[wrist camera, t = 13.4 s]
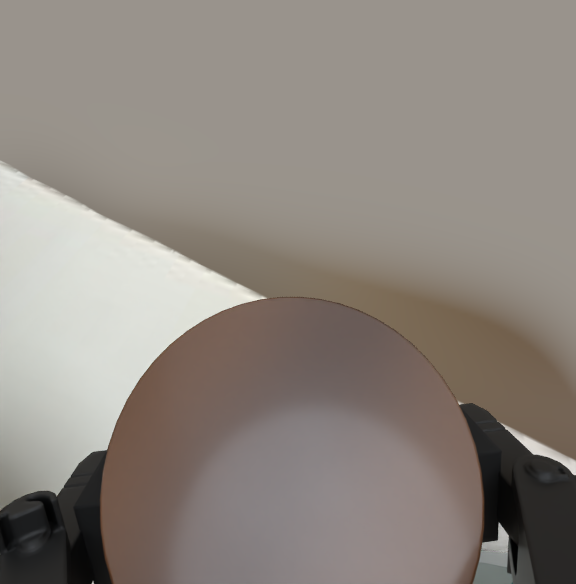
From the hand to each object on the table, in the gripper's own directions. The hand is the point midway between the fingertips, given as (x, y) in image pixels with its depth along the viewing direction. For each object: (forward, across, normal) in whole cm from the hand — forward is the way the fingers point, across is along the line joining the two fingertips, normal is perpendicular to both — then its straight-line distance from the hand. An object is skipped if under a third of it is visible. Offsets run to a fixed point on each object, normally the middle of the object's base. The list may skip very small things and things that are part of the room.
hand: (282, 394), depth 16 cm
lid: (0, 0, -4) cm, 4 cm away
